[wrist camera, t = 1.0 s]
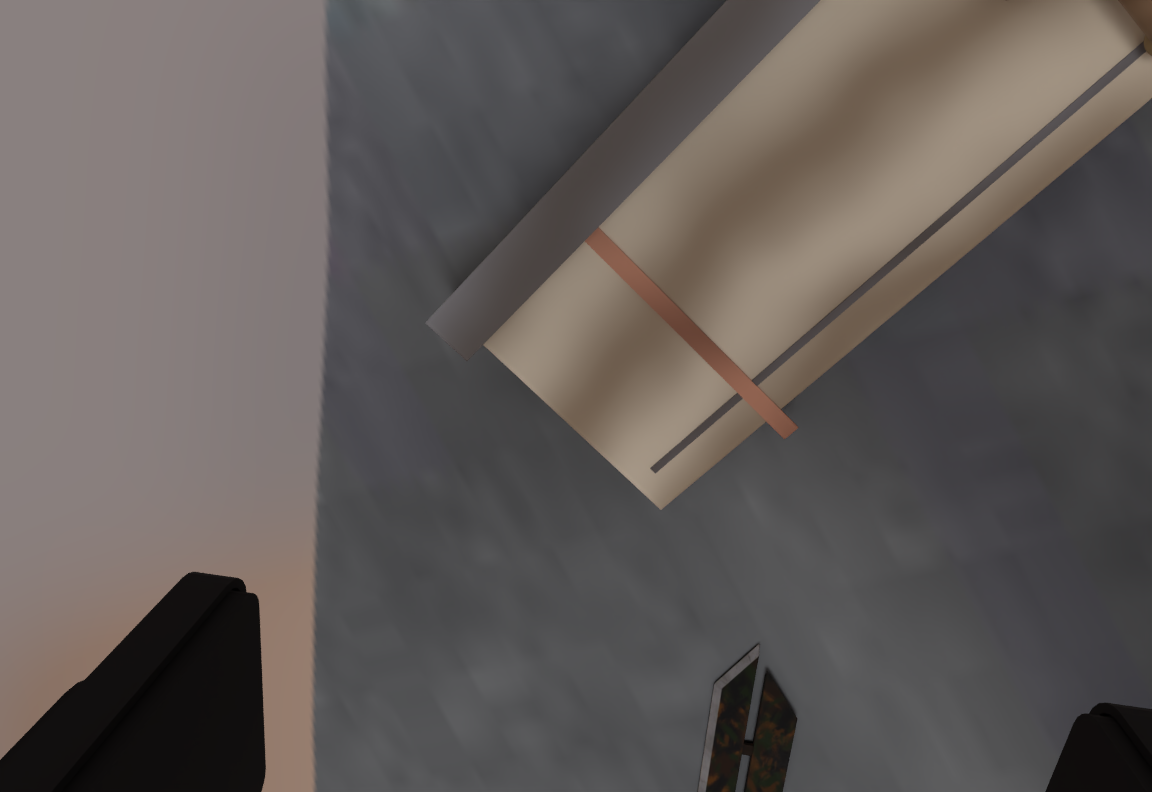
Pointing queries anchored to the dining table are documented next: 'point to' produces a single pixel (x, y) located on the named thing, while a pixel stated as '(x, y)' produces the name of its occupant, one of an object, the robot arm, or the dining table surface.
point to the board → (784, 208)
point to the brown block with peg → (1141, 18)
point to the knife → (731, 727)
